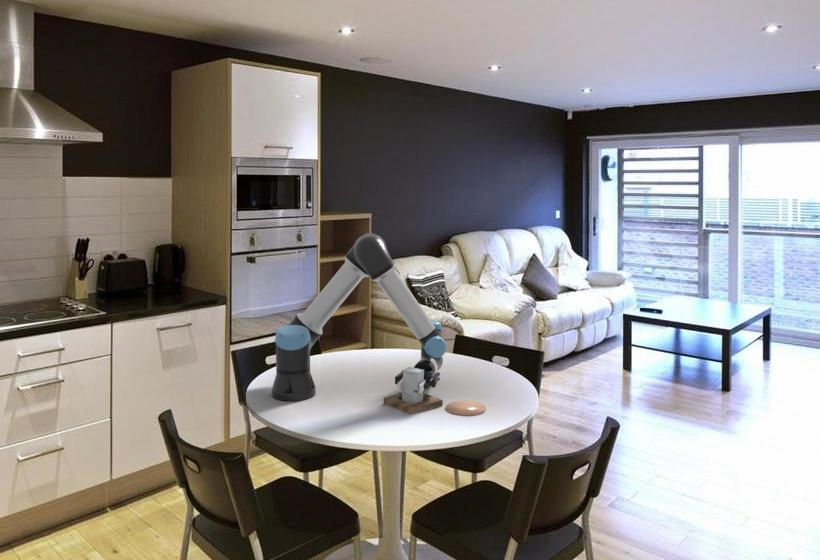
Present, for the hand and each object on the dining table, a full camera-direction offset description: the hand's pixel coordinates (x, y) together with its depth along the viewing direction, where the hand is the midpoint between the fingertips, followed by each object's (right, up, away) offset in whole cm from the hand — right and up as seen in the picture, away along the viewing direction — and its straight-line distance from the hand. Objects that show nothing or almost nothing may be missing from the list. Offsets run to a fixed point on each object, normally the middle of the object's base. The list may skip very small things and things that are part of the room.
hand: (409, 388), depth 214 cm
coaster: (+19, -7, +2) cm, 20 cm away
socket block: (+1, -6, +6) cm, 9 cm away
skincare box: (+1, -7, +6) cm, 9 cm away
